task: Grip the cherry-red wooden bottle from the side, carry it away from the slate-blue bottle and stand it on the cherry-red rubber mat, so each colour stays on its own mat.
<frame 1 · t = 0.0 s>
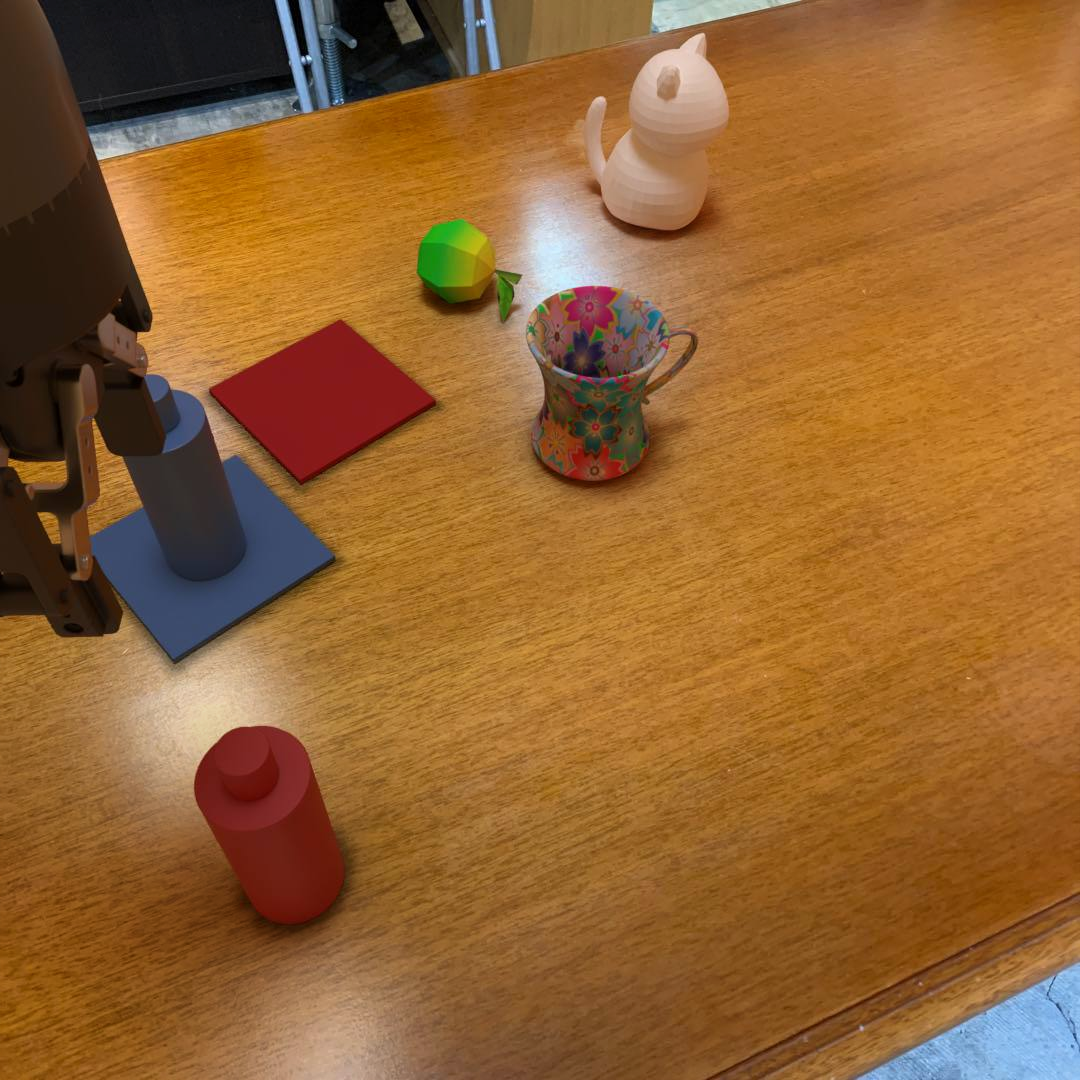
hand: (118, 533, 41), 25 cm above the table, tool pointing down, fingers open, 8 cm apart
blue bottle: (206, 549, 71), resting on blue mat
red mat: (322, 398, 81), on the table
blue mat: (208, 553, 72), on the table
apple: (471, 296, 88), on the table
mug: (607, 441, 79), on the table
cat figurine: (643, 210, 96), on the table
red bottle: (296, 875, 58), on the table
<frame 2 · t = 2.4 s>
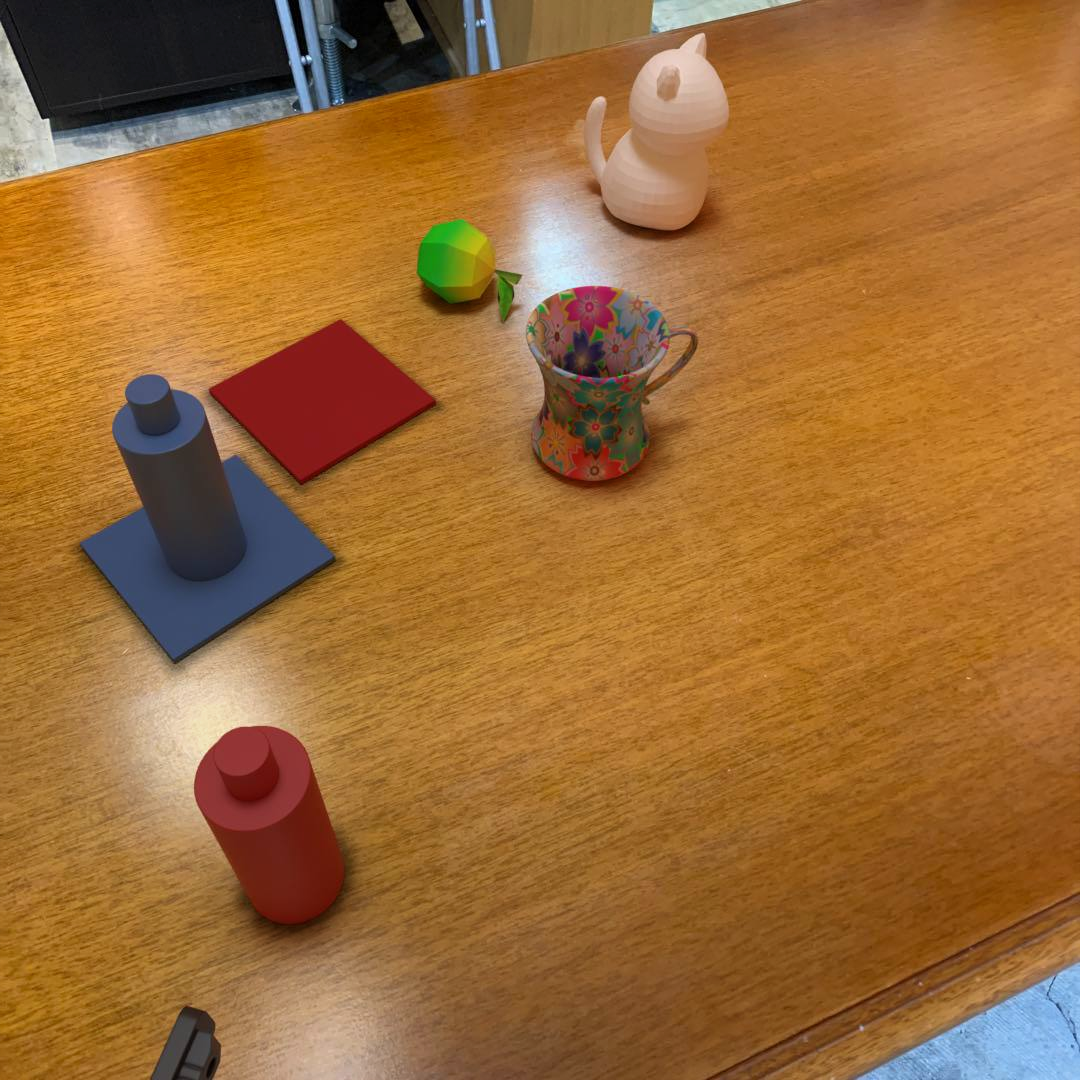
hand: (87, 979, 37), 18 cm above the table, tool horizontal, fingers open, 8 cm apart
nothing on the table moved.
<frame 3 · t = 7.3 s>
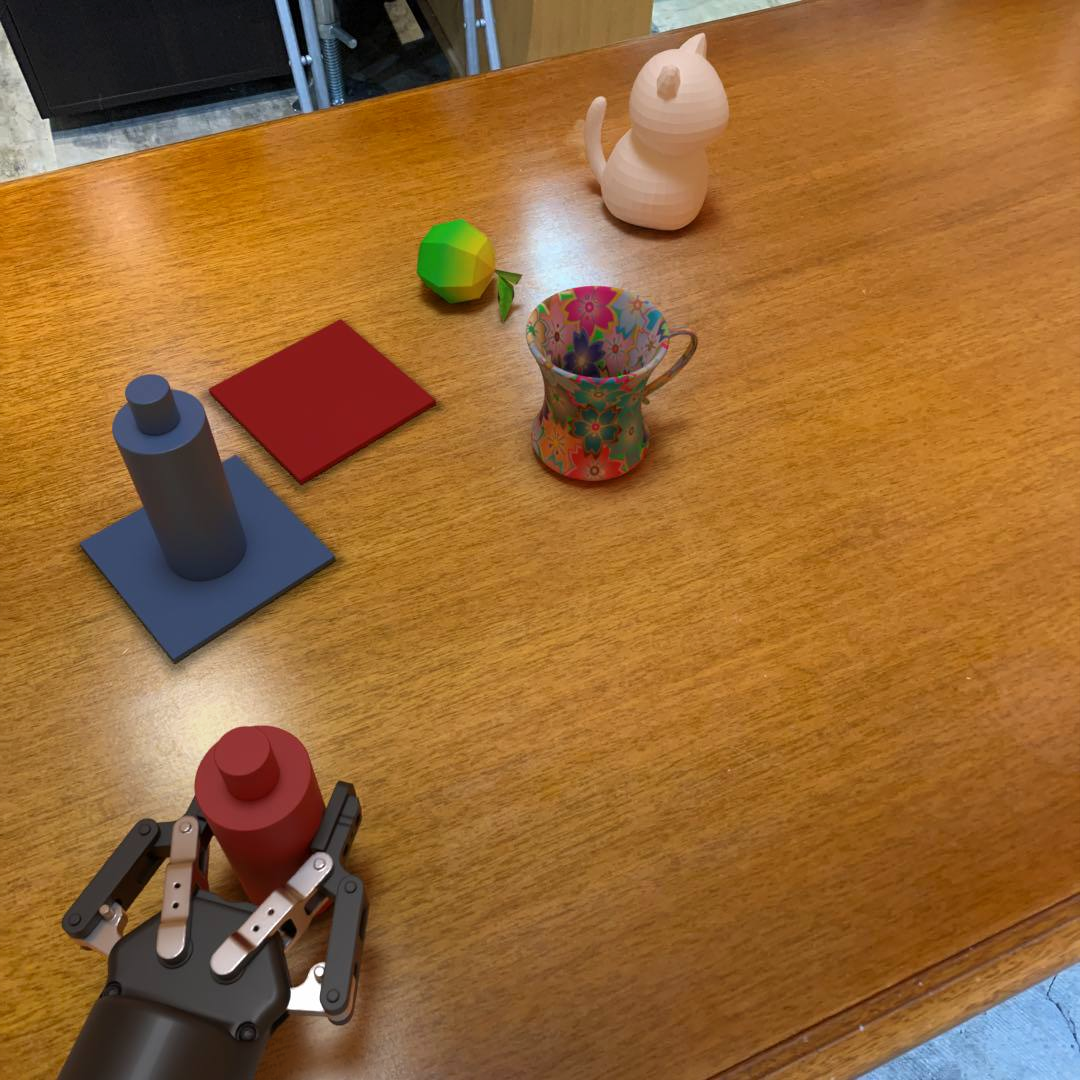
hand: (292, 775, 54), 7 cm above the table, tool horizontal, fingers closed on red bottle, 5 cm apart
red bottle: (295, 875, 58), on the table, touching gripper
everything else where it was.
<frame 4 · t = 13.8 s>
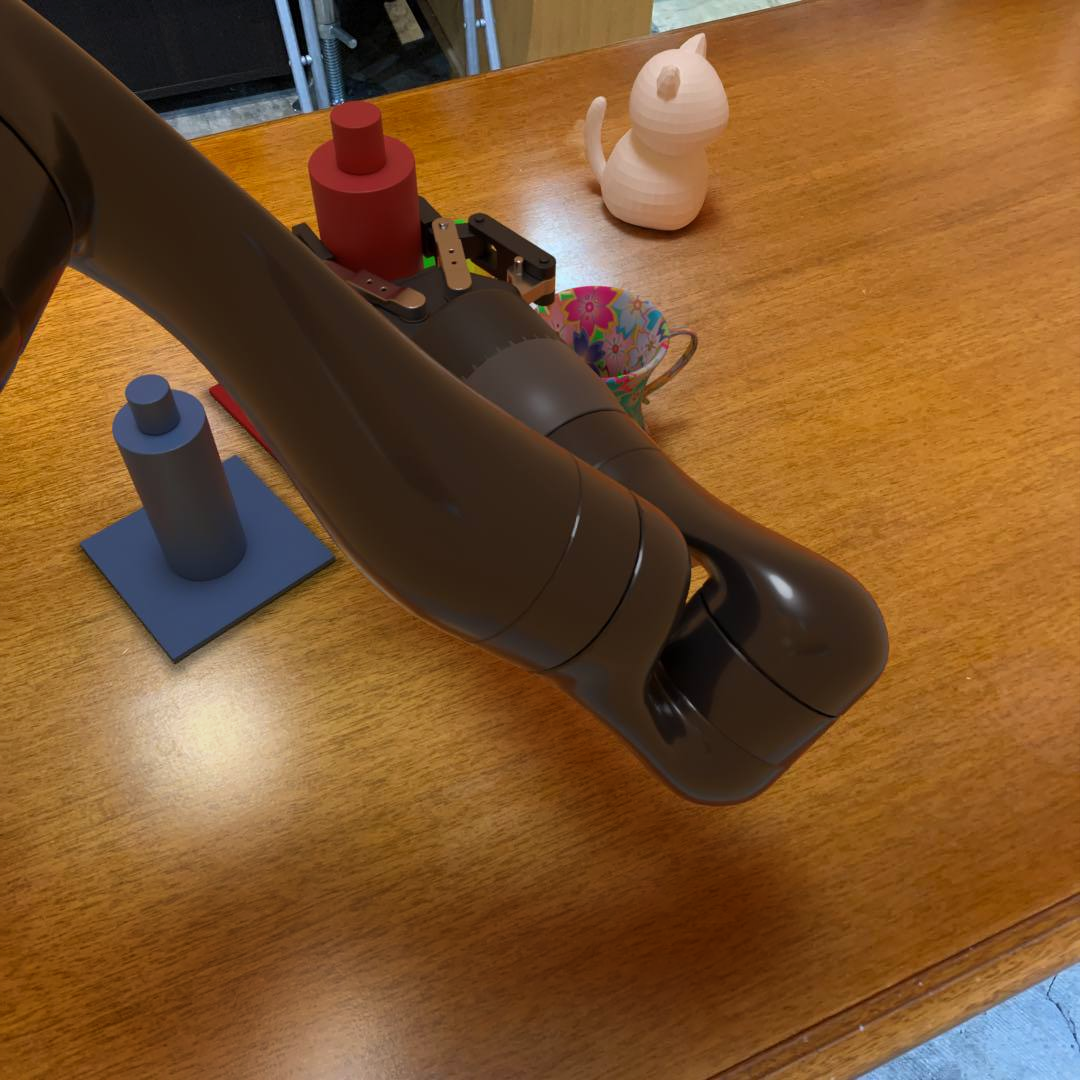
hand: (349, 221, 58), 22 cm above the table, tool horizontal, fingers closed on red bottle, 5 cm apart
red bottle: (385, 348, 62), point 15 cm above the table, touching gripper
everything else where it was.
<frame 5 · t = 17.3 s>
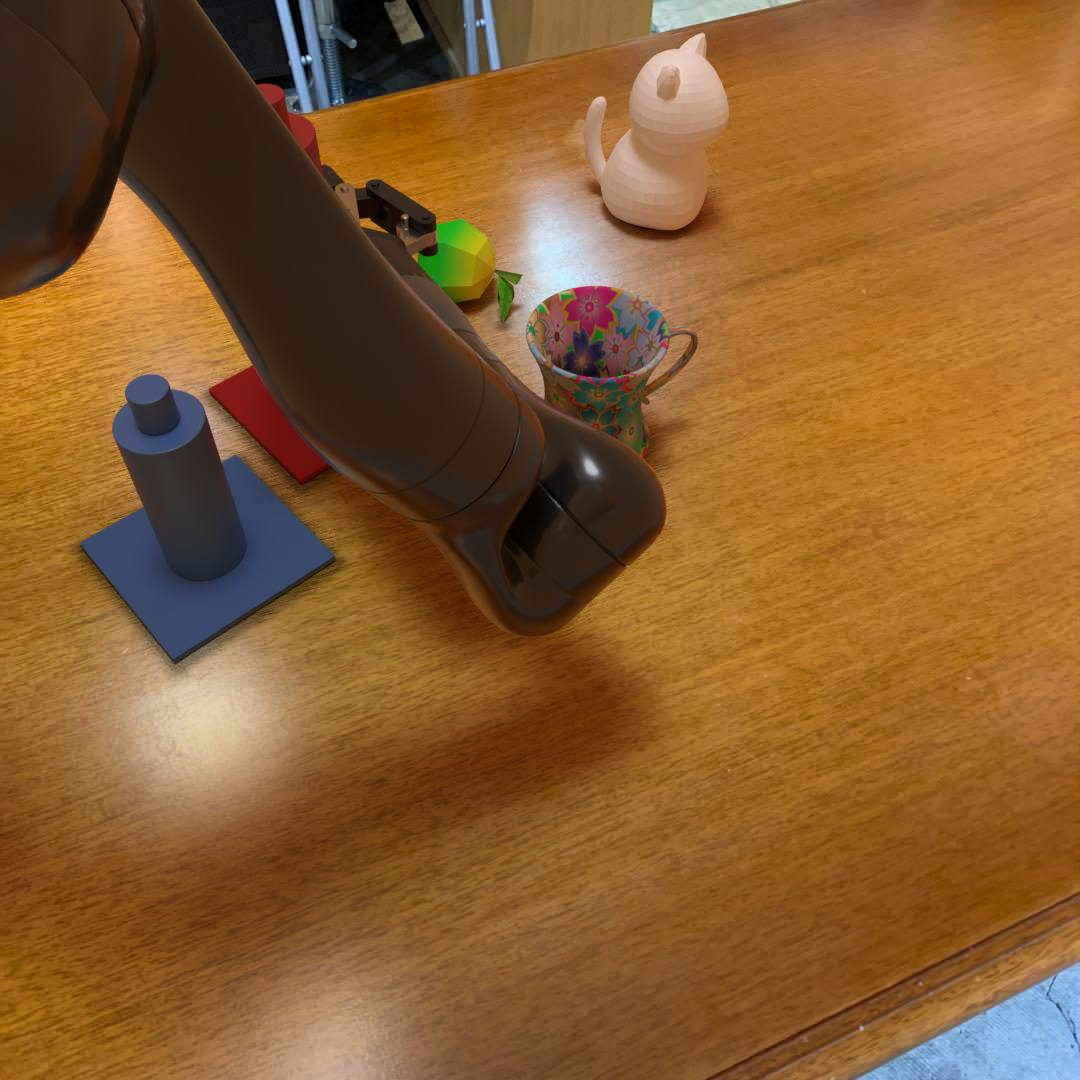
hand: (268, 188, 69), 17 cm above the table, tool horizontal, fingers closed on red bottle, 5 cm apart
red bottle: (304, 297, 73), point 10 cm above the table, touching gripper
everything else where it was.
when the fingers open (7 cm above the table, at t = 20.2 s): red bottle stays where it is, resting on red mat.
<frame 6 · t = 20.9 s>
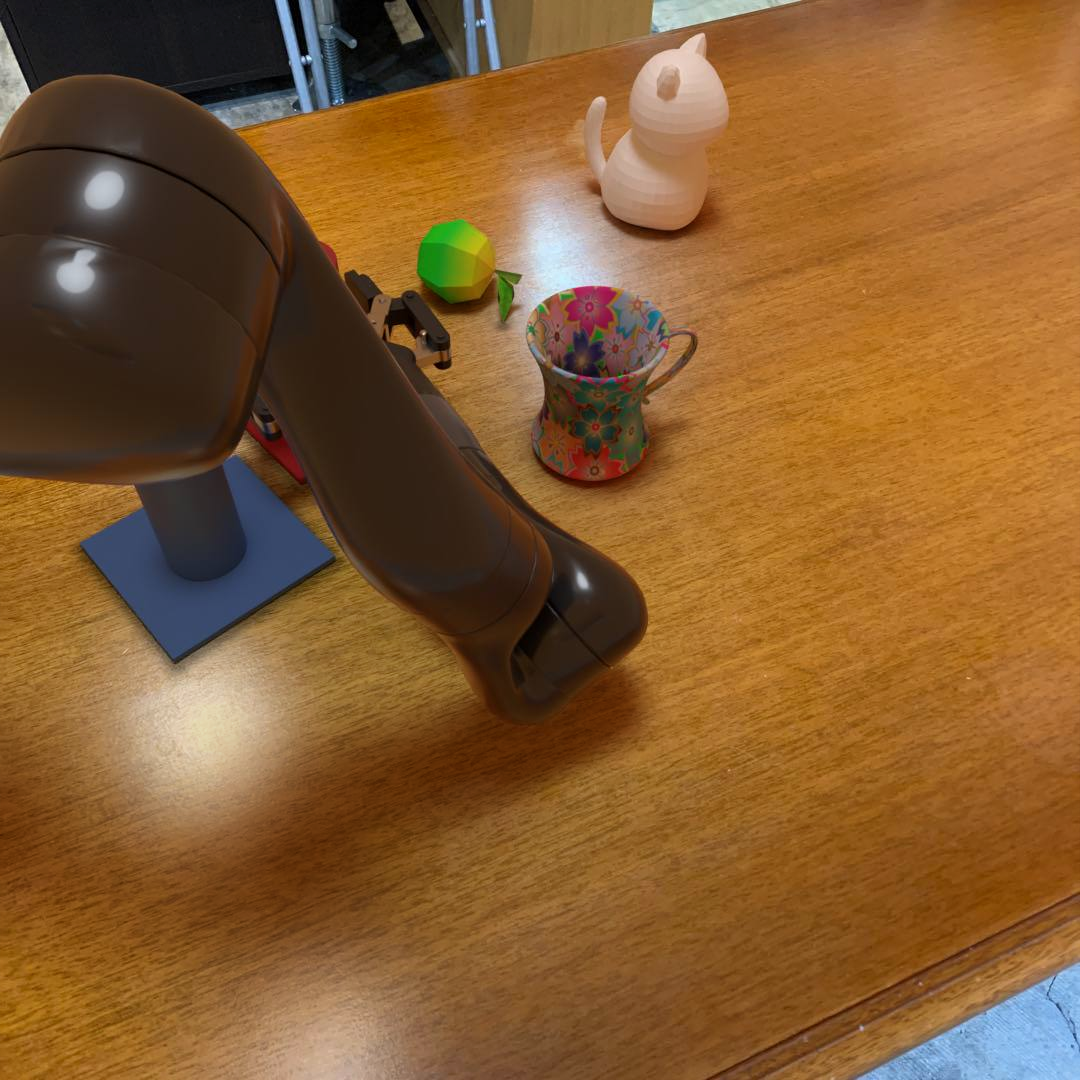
hand: (293, 301, 75), 8 cm above the table, tool horizontal, fingers open, 8 cm apart
red bottle: (323, 394, 80), resting on red mat
everything else where it was.
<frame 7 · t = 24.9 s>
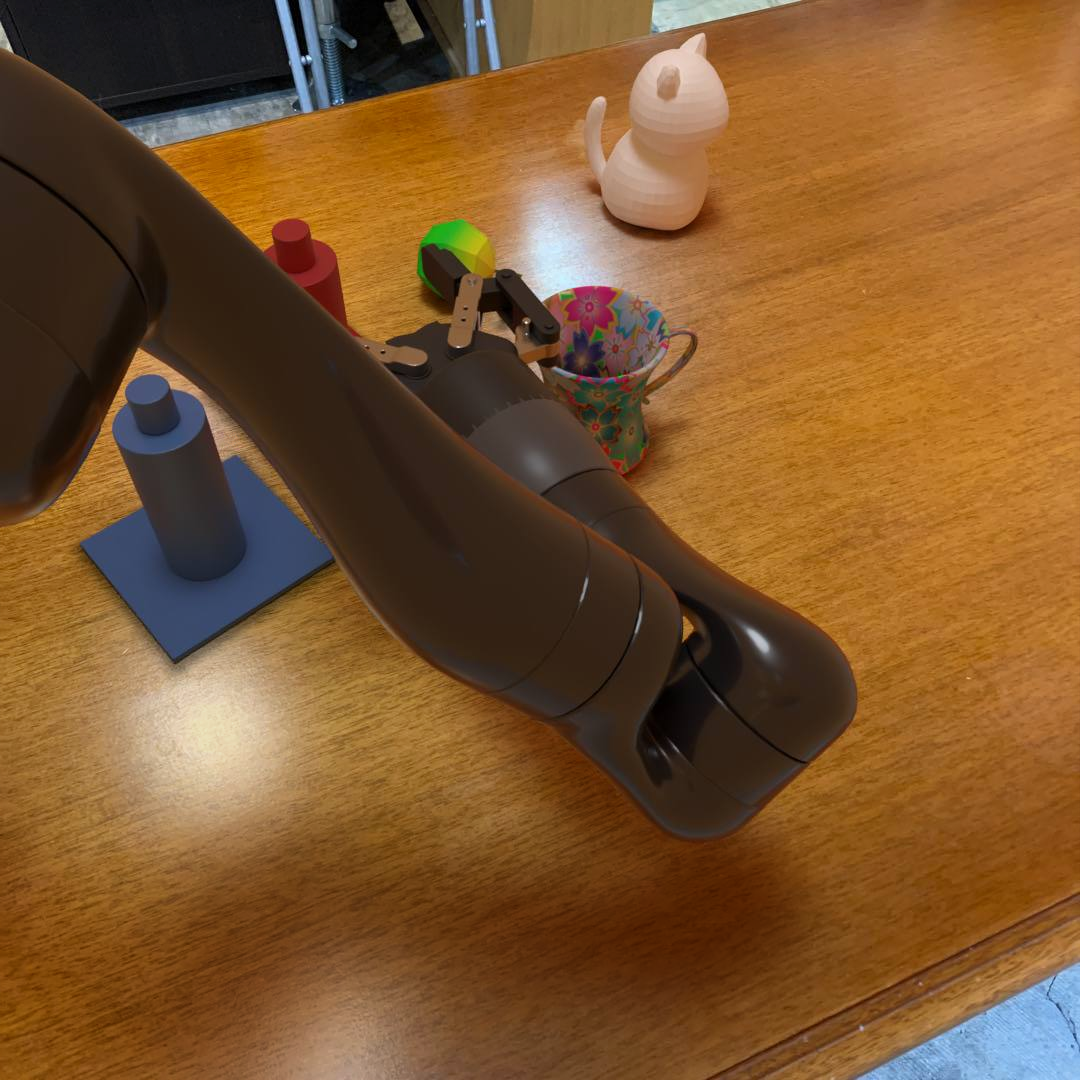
hand: (360, 282, 61), 18 cm above the table, tool horizontal, fingers open, 8 cm apart
nothing on the table moved.
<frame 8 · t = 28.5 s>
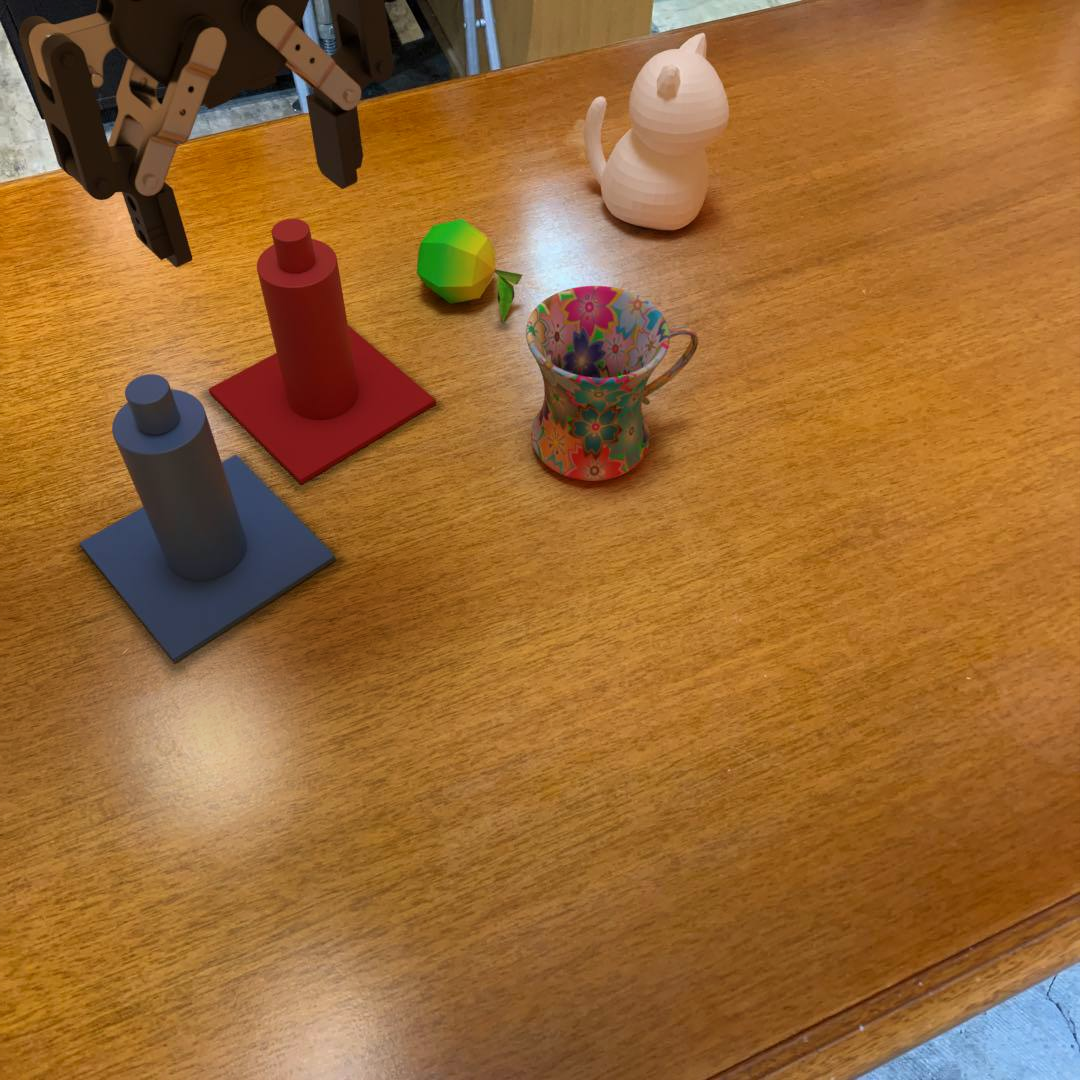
hand: (258, 216, 48), 28 cm above the table, tool pointing down, fingers open, 8 cm apart
nothing on the table moved.
at the end: red bottle inside the target area on the red mat (0.1 cm from its centre), point 0.5 cm above the red mat's base; red bottle tilted 0°; blue bottle 0.0 cm from the blue mat (horizontally) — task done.
